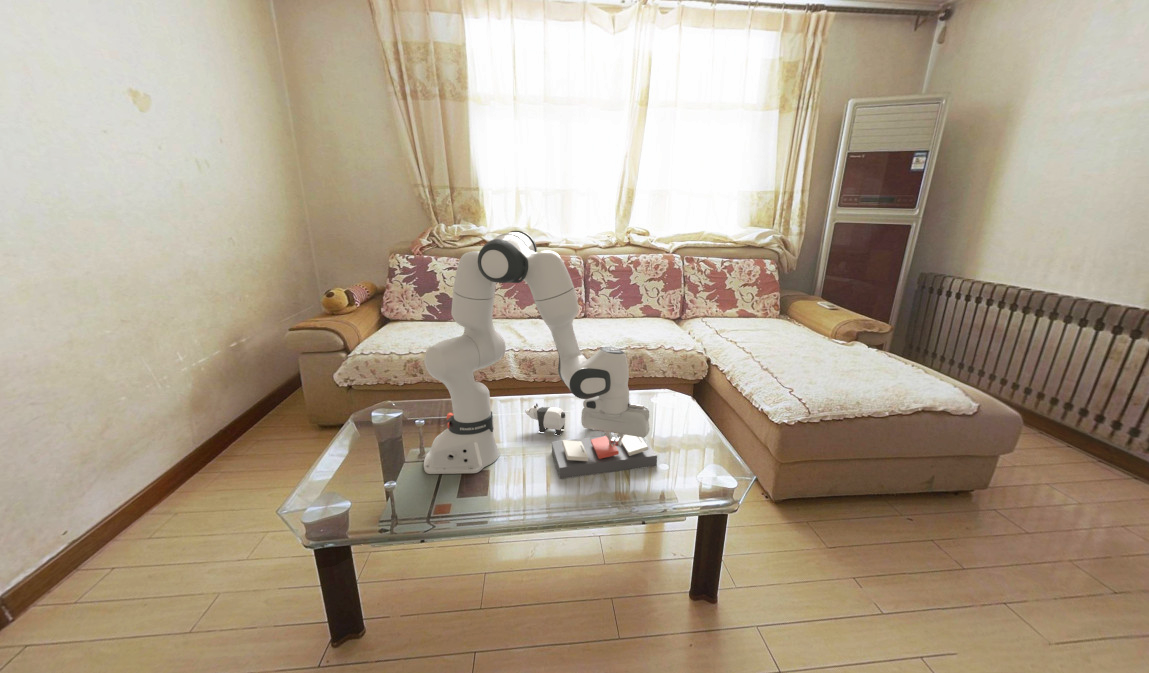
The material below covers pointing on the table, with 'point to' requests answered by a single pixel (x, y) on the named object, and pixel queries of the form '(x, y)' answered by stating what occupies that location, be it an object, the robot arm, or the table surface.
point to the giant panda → (548, 417)
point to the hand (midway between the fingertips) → (615, 444)
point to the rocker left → (574, 450)
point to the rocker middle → (604, 447)
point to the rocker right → (633, 444)
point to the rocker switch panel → (600, 460)
